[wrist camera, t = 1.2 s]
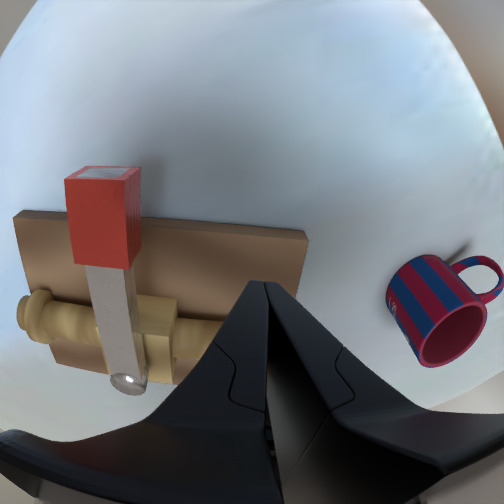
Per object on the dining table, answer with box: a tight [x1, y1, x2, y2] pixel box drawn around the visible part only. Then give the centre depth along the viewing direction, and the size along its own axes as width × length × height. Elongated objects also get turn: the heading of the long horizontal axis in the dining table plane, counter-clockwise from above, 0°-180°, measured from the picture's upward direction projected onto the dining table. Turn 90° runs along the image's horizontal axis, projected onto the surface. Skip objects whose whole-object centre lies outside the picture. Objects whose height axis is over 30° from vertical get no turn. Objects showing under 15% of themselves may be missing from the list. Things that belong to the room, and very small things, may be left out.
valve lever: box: [64, 166, 150, 395], centre depth 15 cm, size 14×3×2 cm, turn 173°
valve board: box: [13, 210, 309, 385], centre depth 21 cm, size 16×22×6 cm
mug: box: [386, 255, 504, 368], centre depth 21 cm, size 7×10×7 cm
